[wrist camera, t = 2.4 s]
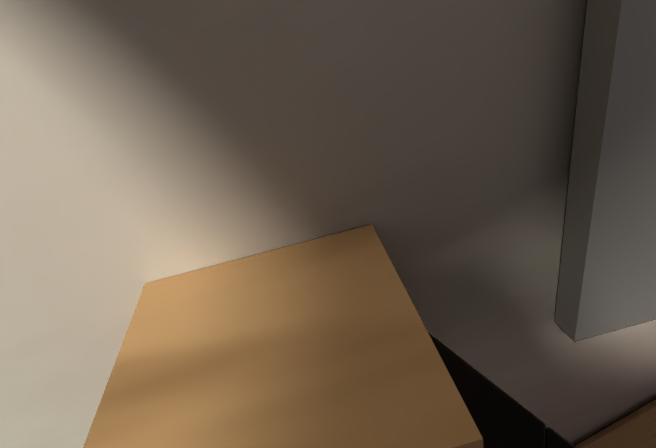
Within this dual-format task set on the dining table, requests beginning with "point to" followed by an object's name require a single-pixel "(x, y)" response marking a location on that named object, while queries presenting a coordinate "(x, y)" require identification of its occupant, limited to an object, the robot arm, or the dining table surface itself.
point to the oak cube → (283, 358)
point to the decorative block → (627, 431)
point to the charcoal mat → (612, 176)
